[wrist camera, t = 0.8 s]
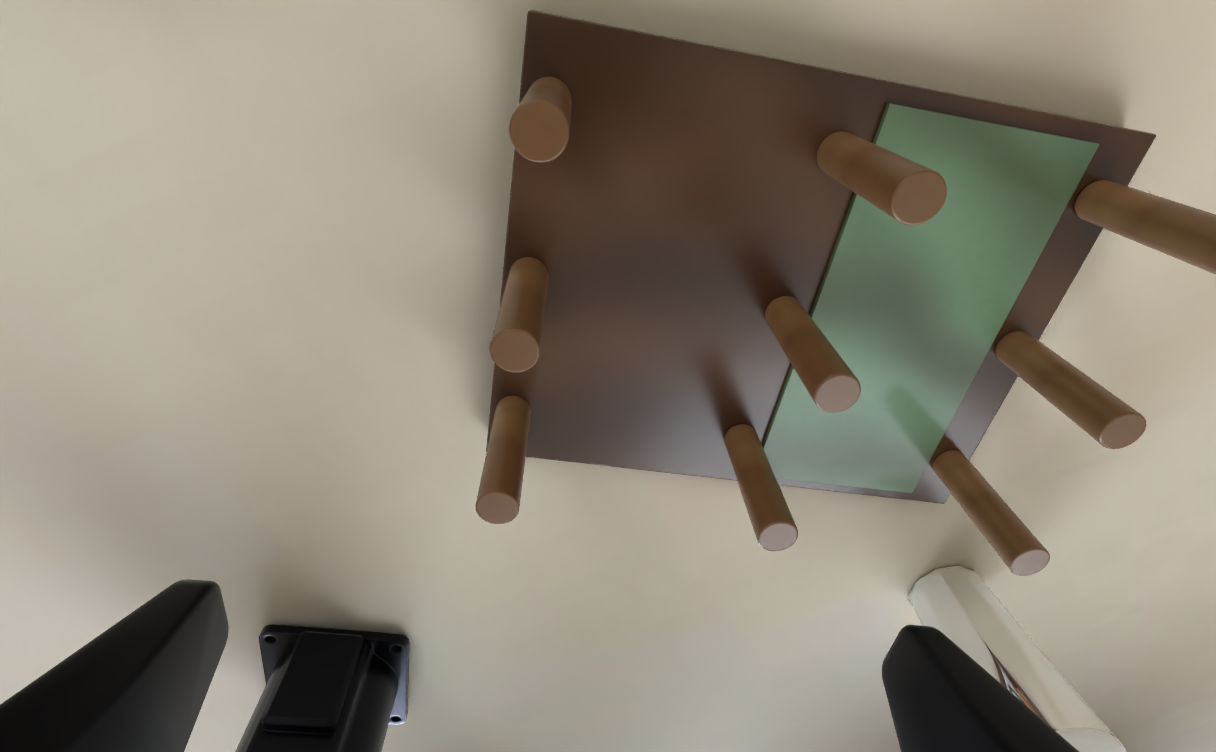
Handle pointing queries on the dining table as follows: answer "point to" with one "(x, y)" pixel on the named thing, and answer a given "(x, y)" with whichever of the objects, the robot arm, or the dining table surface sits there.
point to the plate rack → (793, 274)
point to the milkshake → (1007, 653)
